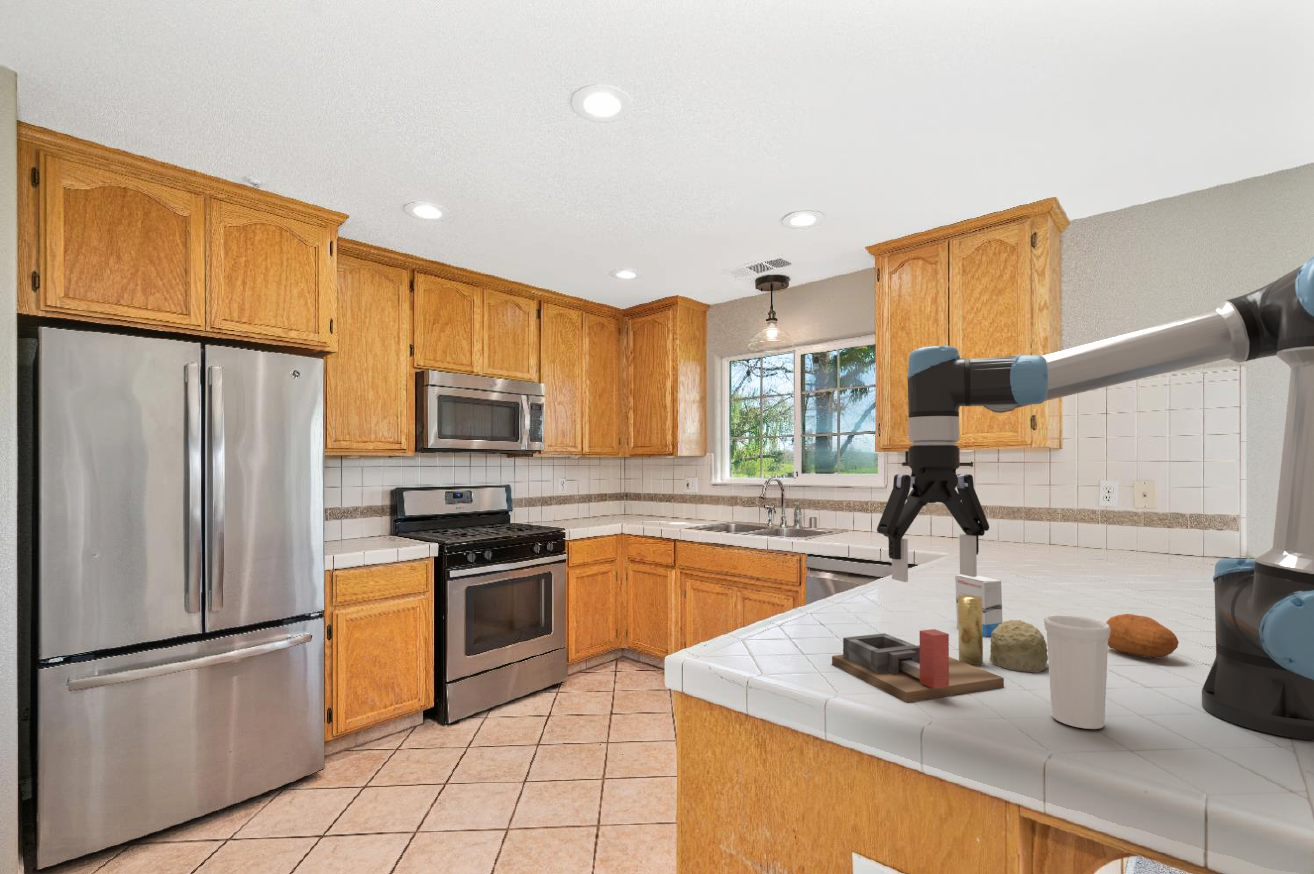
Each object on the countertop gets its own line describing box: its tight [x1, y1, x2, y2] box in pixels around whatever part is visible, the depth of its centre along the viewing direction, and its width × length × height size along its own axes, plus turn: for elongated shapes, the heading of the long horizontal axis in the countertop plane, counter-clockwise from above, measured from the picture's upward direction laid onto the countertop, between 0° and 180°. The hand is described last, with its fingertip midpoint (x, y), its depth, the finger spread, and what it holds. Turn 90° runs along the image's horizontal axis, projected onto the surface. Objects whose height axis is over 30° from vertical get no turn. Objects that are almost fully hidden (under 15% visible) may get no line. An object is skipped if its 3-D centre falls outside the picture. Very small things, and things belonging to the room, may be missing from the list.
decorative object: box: [989, 619, 1049, 673], centre depth 117 cm, size 9×10×10 cm
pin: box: [899, 628, 950, 689], centre depth 104 cm, size 10×3×8 cm, turn 20°
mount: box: [831, 632, 1005, 703], centre depth 110 cm, size 19×20×5 cm
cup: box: [1043, 614, 1111, 730], centre depth 91 cm, size 8×8×14 cm
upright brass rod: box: [957, 595, 984, 667], centre depth 118 cm, size 4×4×12 cm
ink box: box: [955, 574, 1004, 638], centre depth 139 cm, size 9×5×12 cm, turn 17°
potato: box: [1105, 613, 1180, 659], centre depth 122 cm, size 9×11×8 cm
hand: (934, 578), depth 101 cm, fingers open, 13 cm apart
